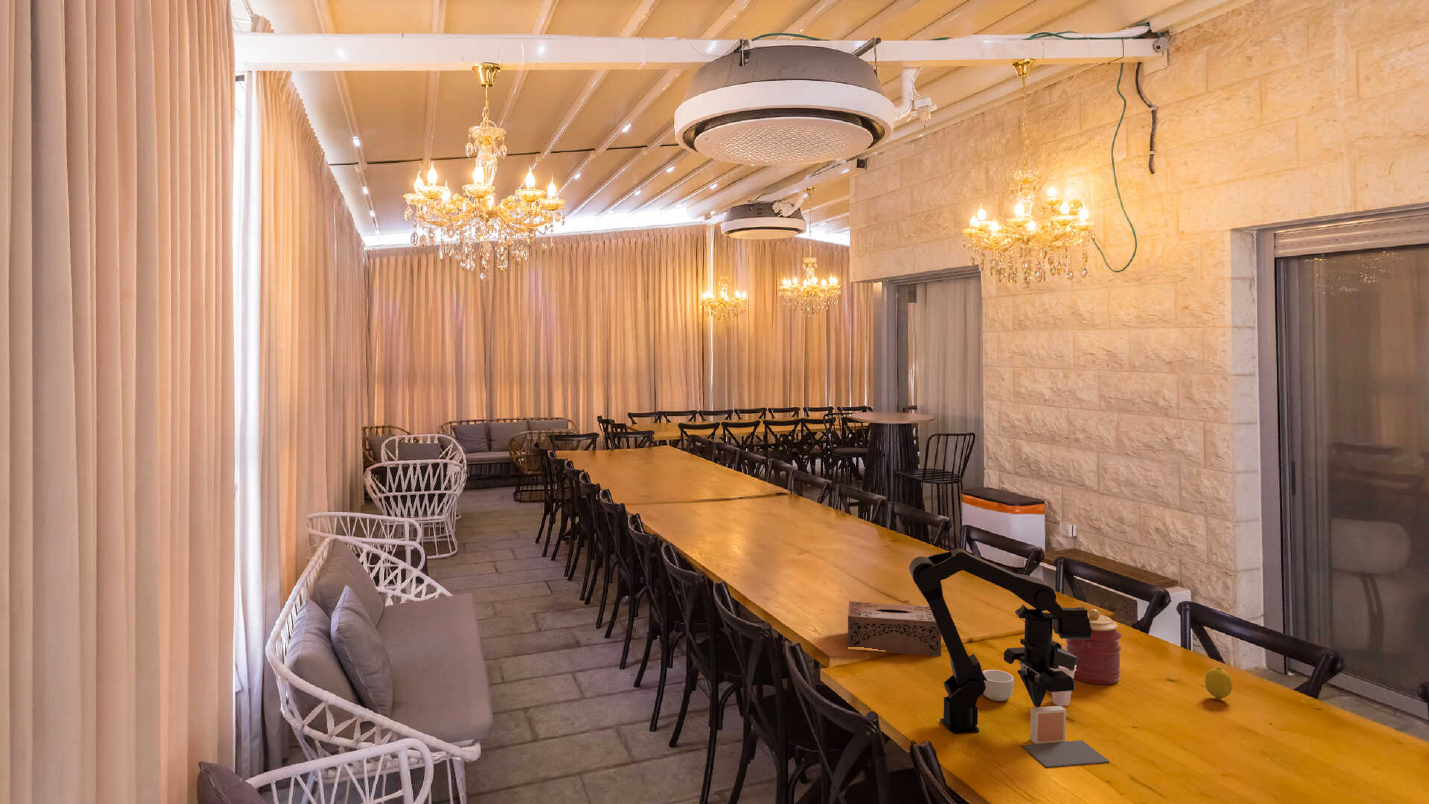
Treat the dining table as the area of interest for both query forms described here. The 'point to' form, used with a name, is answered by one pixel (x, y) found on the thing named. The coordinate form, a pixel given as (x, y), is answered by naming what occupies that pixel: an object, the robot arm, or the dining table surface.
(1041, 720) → the block
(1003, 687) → the teacup
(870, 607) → the tissue box cover
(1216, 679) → the lemon
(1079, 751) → the mat
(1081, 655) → the canister
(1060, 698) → the smoothie
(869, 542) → the dining table surface
